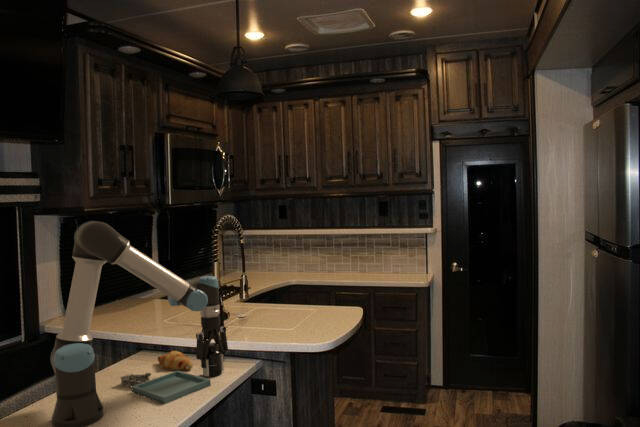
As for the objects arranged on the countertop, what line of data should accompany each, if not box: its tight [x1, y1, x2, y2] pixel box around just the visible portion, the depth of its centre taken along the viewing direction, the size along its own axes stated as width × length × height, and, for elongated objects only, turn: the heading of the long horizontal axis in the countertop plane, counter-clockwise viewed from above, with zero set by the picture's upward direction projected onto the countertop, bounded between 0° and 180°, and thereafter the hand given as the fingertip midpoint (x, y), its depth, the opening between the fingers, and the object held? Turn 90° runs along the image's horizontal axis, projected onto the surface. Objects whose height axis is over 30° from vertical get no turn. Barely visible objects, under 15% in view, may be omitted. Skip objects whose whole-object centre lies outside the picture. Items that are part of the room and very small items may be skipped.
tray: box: [131, 370, 212, 405], centre depth 190 cm, size 20×20×2 cm
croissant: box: [157, 350, 194, 371], centre depth 216 cm, size 21×10×8 cm, turn 56°
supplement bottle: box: [206, 342, 223, 378], centre depth 205 cm, size 7×7×12 cm
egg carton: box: [118, 372, 152, 388], centre depth 198 cm, size 11×8×4 cm
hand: (213, 372), depth 205 cm, fingers closed on supplement bottle, 7 cm apart
